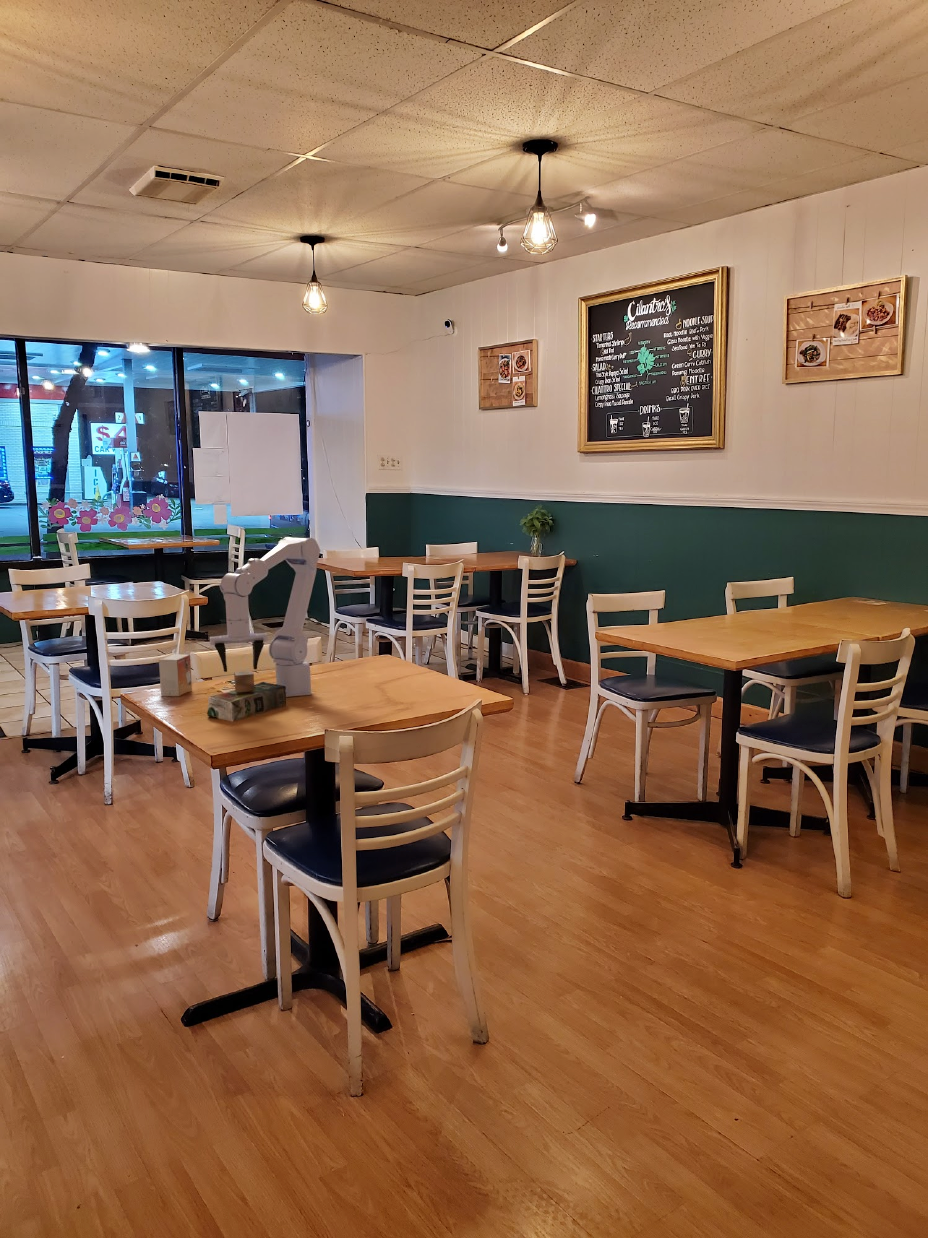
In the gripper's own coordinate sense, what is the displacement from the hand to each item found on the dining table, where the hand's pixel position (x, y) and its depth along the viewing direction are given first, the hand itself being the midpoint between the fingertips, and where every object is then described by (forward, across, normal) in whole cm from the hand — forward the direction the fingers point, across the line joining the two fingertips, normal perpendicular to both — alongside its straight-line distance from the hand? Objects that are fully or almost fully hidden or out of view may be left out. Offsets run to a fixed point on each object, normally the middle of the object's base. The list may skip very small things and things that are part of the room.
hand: (240, 669), depth 246 cm
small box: (+11, -16, +23) cm, 30 cm away
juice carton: (+11, +1, -3) cm, 11 cm away
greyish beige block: (+5, +1, -2) cm, 5 cm away
